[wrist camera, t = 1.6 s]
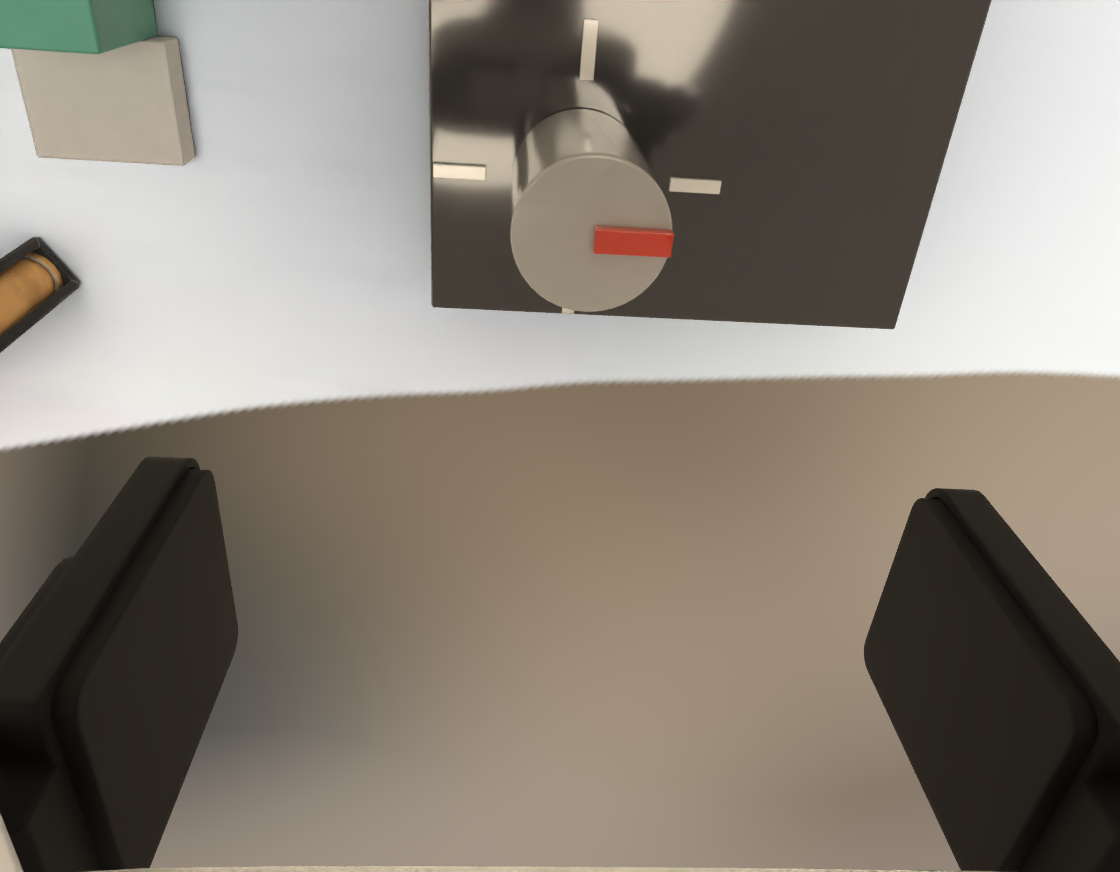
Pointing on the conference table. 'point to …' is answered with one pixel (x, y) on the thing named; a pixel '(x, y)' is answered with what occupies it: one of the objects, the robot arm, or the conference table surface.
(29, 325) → the ammunition clip
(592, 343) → the conference table surface
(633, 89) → the hob
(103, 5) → the teal post
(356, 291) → the conference table surface
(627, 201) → the dial
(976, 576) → the robot arm
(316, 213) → the conference table surface
